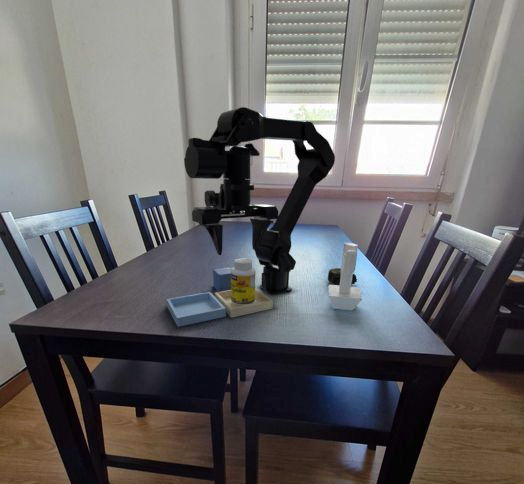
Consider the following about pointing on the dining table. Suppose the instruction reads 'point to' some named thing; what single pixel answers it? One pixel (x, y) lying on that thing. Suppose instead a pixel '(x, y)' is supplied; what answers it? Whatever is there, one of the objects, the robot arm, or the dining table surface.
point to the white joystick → (346, 282)
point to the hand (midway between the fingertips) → (237, 252)
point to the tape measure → (338, 276)
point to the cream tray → (235, 310)
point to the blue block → (222, 279)
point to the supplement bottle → (242, 282)
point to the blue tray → (195, 308)
